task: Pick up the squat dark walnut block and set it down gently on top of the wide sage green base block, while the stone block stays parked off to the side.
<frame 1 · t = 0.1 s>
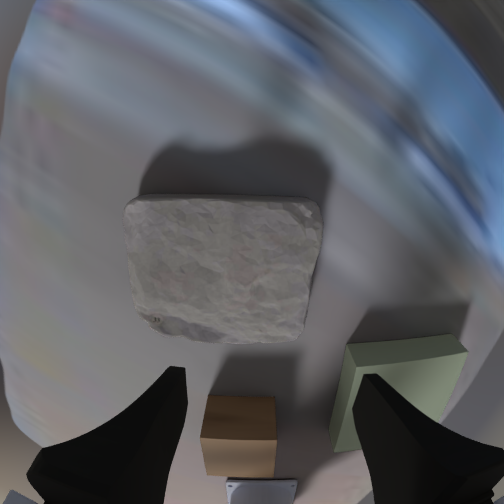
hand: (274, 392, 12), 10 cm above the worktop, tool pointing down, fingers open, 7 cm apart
stone block: (224, 264, 21), on the worktop
walnut block: (241, 417, 25), on the worktop
base block: (390, 386, 24), on the worktop
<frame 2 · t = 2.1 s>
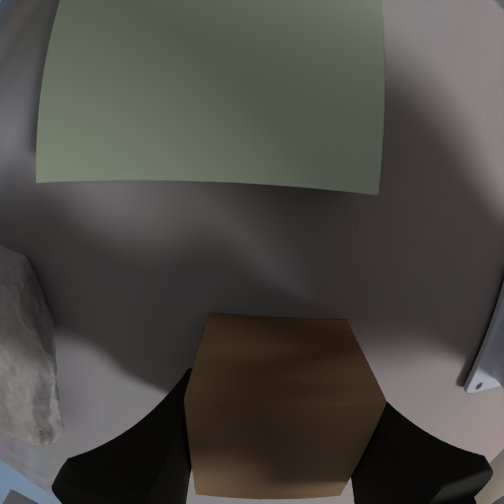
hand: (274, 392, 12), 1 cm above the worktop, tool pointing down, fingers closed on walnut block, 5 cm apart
stone block: (11, 337, 14), on the worktop
walnut block: (272, 371, 13), on the worktop, touching gripper
base block: (215, 42, 9), on the worktop
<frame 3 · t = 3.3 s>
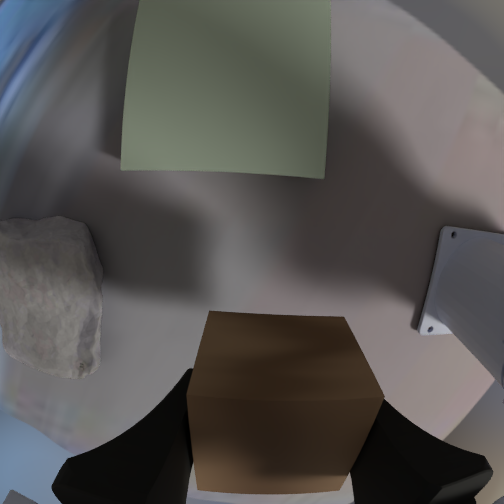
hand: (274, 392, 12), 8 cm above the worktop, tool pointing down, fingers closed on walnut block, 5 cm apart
stone block: (60, 291, 20), on the worktop
walnut block: (272, 368, 13), point 7 cm above the worktop, touching gripper
base block: (230, 84, 16), on the worktop
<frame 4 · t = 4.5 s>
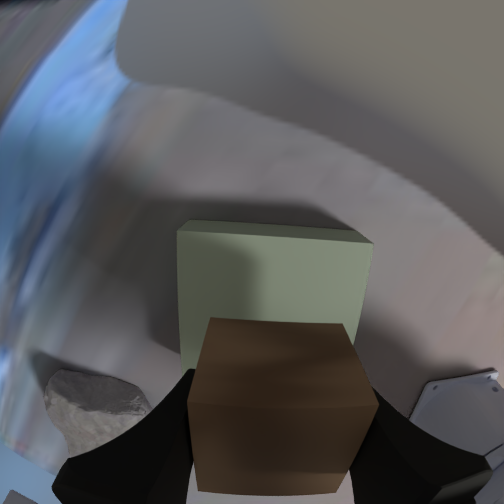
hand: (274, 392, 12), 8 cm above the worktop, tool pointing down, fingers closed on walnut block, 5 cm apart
stone block: (115, 418, 24), on the worktop
walnut block: (271, 373, 13), point 7 cm above the worktop, touching gripper
base block: (268, 302, 20), on the worktop
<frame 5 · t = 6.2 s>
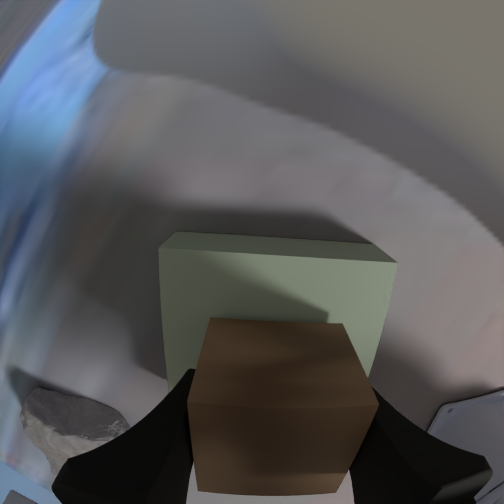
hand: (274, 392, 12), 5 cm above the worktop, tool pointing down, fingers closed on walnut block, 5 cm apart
stone block: (98, 439, 21), on the worktop
walnut block: (271, 373, 13), point 4 cm above the worktop, touching gripper
base block: (269, 327, 17), on the worktop
when the fingers open (5 cm above the worktop, at t = 7.3 s): walnut block stays where it is, resting on base block.
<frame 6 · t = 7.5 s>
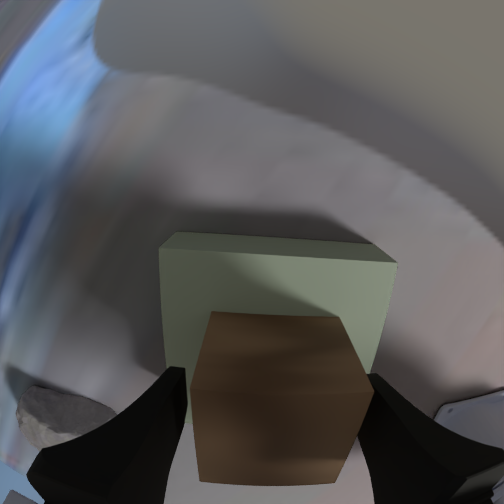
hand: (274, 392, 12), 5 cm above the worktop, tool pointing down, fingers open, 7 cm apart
stone block: (93, 437, 21), on the worktop
walnut block: (271, 366, 14), point 3 cm above the worktop, touching base block
base block: (269, 327, 17), on the worktop
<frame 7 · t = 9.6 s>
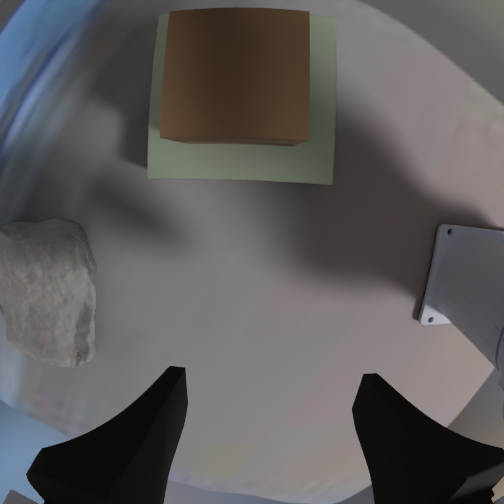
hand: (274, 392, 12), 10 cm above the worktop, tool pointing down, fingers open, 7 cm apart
stone block: (59, 287, 22), on the worktop
walnut block: (241, 93, 15), point 3 cm above the worktop, touching base block
base block: (244, 98, 18), on the worktop
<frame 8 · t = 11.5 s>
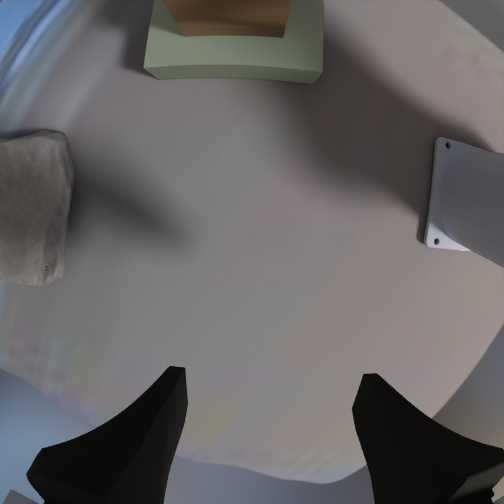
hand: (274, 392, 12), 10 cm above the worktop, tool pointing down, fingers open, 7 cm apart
stone block: (37, 204, 20), on the worktop
base block: (240, 13, 16), on the worktop
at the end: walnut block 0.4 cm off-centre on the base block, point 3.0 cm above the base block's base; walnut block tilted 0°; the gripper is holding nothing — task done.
